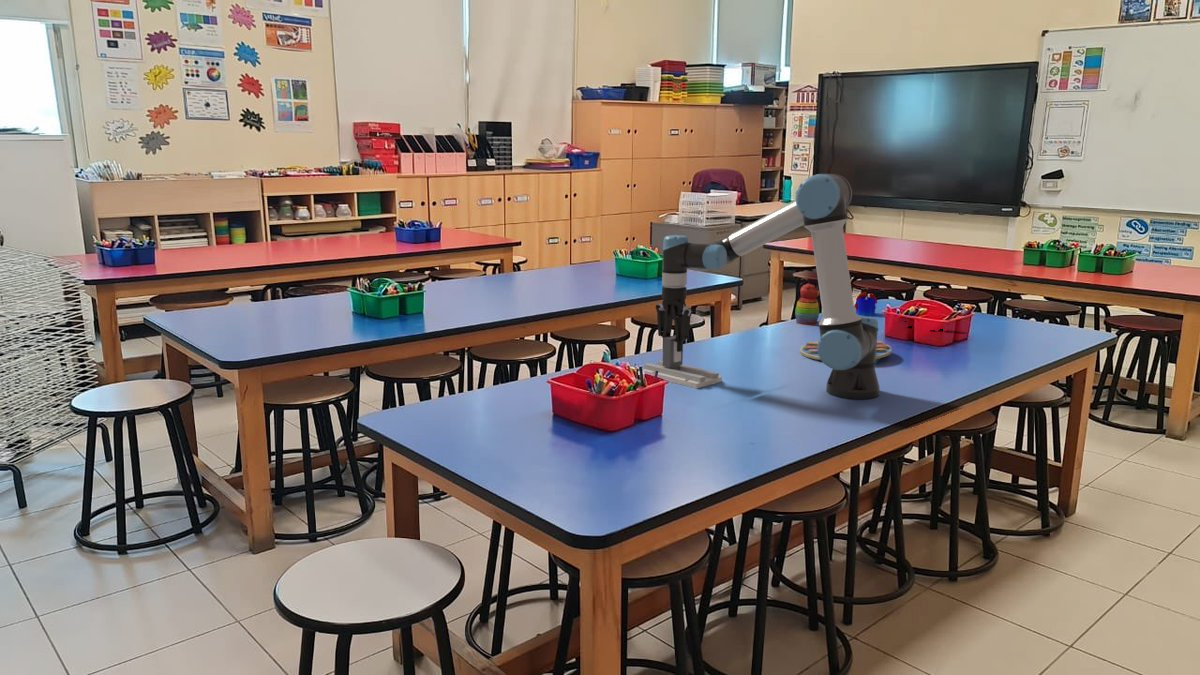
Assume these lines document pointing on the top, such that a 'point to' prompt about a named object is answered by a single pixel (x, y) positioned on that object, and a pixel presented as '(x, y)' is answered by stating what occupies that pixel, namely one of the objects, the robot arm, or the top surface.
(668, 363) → the fader
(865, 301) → the fantasy tower
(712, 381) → the panel
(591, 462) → the top surface
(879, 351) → the shape sorting clock
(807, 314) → the stacking bear
